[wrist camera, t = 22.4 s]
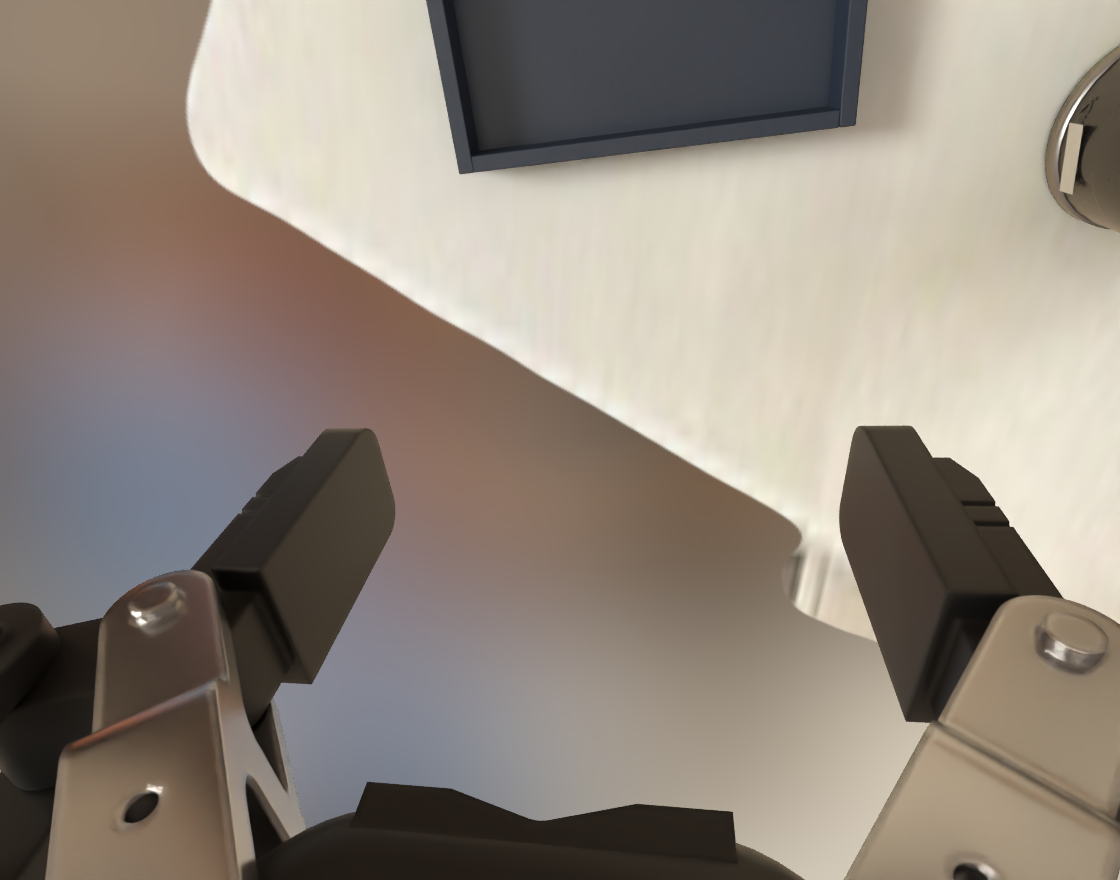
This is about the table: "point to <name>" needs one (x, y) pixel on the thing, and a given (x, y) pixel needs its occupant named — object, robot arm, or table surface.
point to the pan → (640, 74)
